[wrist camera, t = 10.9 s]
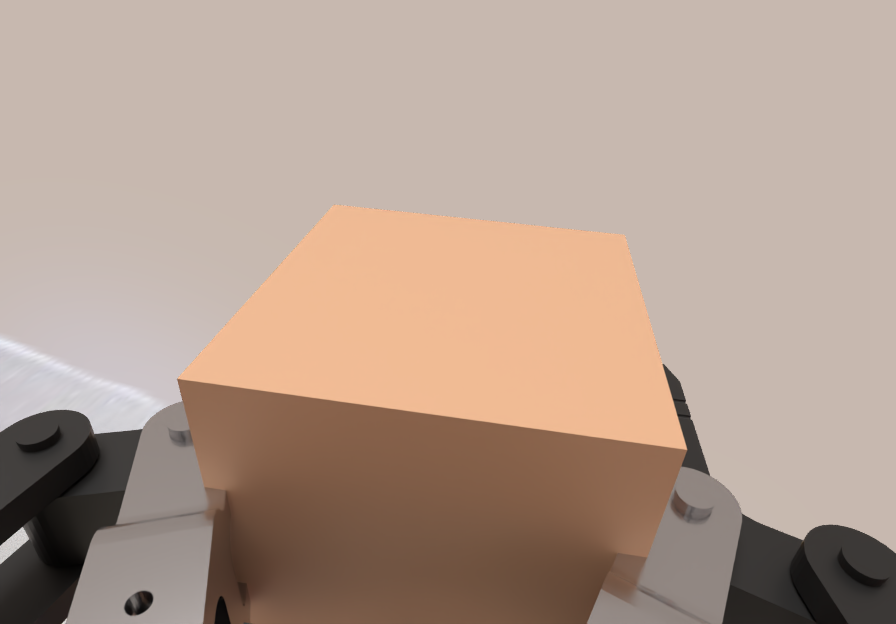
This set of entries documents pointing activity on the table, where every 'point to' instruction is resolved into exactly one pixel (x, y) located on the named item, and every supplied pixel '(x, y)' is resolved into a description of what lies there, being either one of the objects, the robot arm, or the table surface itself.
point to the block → (436, 423)
